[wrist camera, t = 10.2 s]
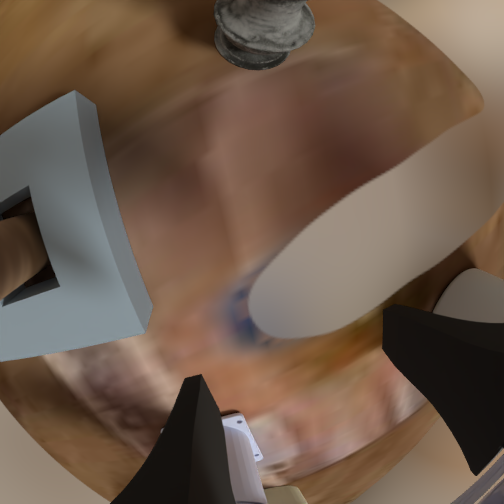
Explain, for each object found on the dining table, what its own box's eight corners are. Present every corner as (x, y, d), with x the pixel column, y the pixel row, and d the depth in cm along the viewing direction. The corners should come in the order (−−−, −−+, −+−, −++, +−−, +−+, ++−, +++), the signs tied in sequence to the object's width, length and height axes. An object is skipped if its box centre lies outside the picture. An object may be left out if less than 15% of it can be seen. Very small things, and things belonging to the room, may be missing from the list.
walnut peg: (66, 260, 15) (11, 301, 9) (28, 272, 15) (-26, 312, 8) (50, 203, 14) (-14, 220, 7) (13, 220, 14) (-49, 242, 7)
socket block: (153, 306, 17) (145, 333, 14) (19, 340, 16) (0, 361, 12) (96, 104, 13) (74, 89, 10) (-33, 185, 11) (-59, 189, 8)
